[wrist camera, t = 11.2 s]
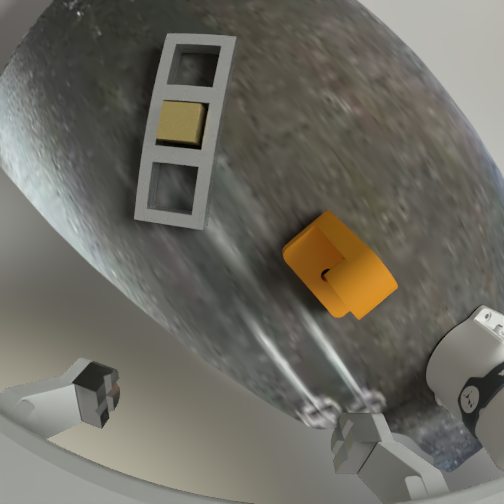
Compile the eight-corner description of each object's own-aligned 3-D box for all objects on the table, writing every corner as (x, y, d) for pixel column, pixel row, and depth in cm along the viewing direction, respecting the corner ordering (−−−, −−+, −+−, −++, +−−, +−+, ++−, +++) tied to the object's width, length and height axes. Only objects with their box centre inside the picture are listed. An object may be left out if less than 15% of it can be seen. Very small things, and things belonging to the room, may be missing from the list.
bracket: (278, 249, 37) (286, 283, 25) (325, 208, 35) (355, 225, 24) (332, 311, 38) (357, 363, 27) (376, 275, 37) (418, 314, 25)
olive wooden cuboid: (208, 113, 33) (200, 103, 28) (202, 146, 34) (193, 141, 29) (175, 110, 33) (162, 101, 28) (169, 142, 34) (156, 138, 29)
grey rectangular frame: (238, 46, 31) (236, 36, 28) (207, 225, 36) (202, 230, 33) (173, 42, 31) (167, 33, 28) (143, 215, 36) (134, 219, 33)
